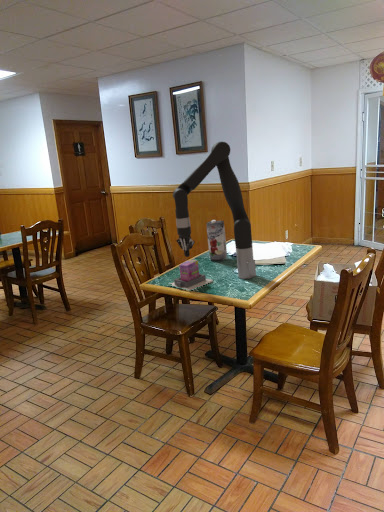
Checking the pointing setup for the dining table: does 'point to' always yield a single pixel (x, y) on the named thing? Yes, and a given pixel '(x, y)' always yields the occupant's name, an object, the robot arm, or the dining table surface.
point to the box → (189, 270)
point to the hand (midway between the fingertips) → (187, 256)
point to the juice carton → (216, 240)
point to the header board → (191, 282)
